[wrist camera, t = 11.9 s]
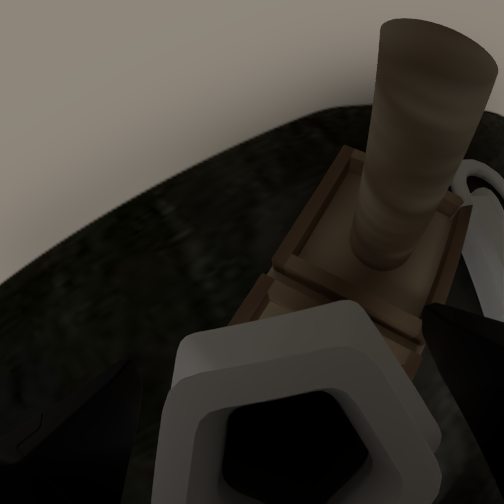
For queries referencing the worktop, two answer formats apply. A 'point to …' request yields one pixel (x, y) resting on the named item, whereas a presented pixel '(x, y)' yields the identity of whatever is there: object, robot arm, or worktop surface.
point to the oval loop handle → (483, 235)
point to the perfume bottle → (295, 416)
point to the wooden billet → (416, 134)
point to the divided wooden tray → (359, 265)
